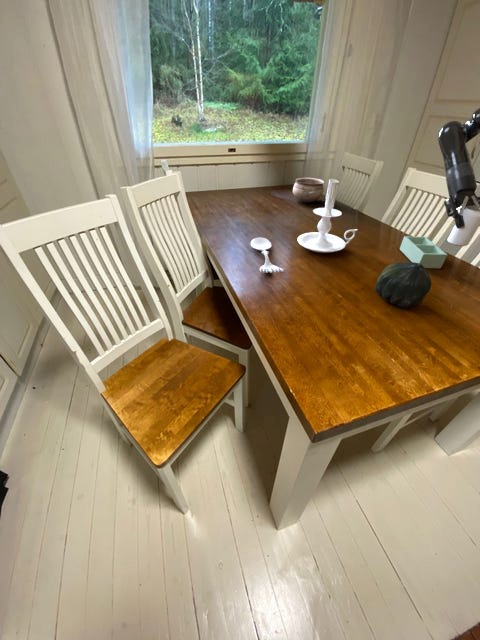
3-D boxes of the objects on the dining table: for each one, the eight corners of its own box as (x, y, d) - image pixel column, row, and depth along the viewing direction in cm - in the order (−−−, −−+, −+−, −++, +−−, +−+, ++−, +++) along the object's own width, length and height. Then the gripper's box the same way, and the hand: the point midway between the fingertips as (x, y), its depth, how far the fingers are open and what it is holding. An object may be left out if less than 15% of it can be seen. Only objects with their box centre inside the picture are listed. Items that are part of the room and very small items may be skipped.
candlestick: (360, 258, 113) (383, 185, 95) (300, 258, 113) (313, 184, 95) (344, 239, 129) (362, 173, 111) (292, 238, 129) (302, 172, 111)
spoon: (259, 278, 99) (259, 270, 97) (249, 242, 124) (249, 235, 122) (283, 278, 100) (284, 269, 98) (268, 242, 125) (269, 235, 123)
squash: (382, 266, 96) (391, 247, 82) (429, 279, 91) (447, 261, 77) (367, 303, 95) (373, 289, 81) (413, 318, 90) (429, 306, 76)
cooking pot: (287, 196, 185) (290, 176, 177) (315, 196, 186) (318, 176, 178) (296, 207, 165) (299, 185, 158) (326, 207, 167) (331, 185, 159)
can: (468, 248, 94) (489, 212, 86) (446, 243, 96) (465, 209, 89) (467, 241, 98) (487, 207, 91) (446, 237, 101) (464, 204, 93)
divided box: (420, 249, 121) (425, 236, 117) (440, 268, 107) (447, 254, 104) (399, 248, 121) (404, 236, 117) (417, 267, 108) (423, 254, 104)
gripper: (452, 174, 89) (462, 223, 88) (489, 173, 91) (499, 220, 90) (433, 187, 96) (441, 232, 95) (467, 186, 99) (476, 230, 97)
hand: (469, 226), depth 92 cm, fingers closed on can, 6 cm apart
